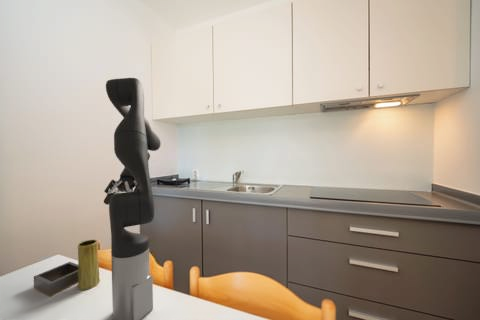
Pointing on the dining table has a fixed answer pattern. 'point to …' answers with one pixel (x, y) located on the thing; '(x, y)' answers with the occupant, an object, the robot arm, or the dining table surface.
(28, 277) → the dining table surface
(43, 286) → the square grey tray
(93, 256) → the vase
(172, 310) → the dining table surface
